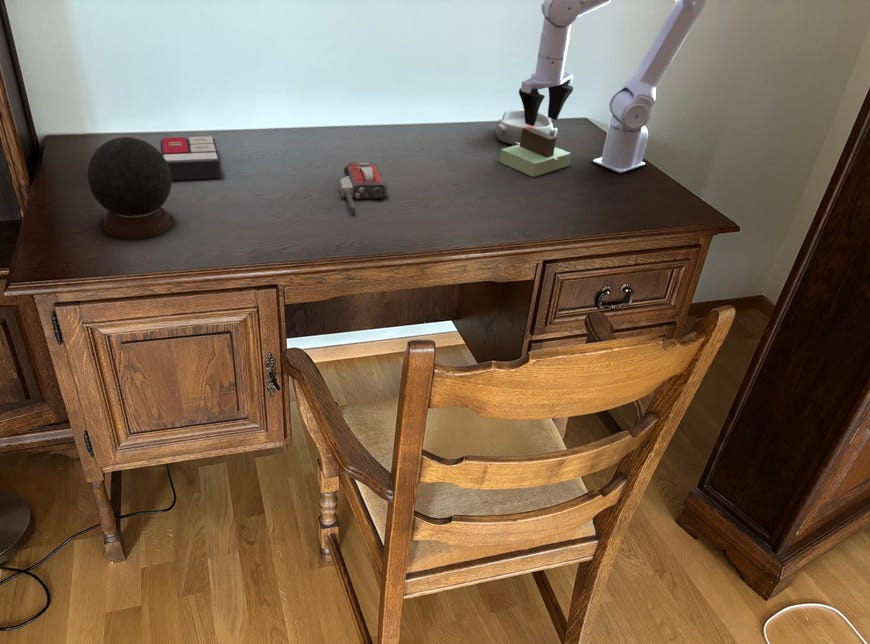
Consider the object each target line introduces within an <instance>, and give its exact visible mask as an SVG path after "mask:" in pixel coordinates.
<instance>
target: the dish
mask: <svg viewBox="0 0 870 644" xmlns="http://www.w3.org/2000/svg"><path fill="white" fill-rule="evenodd" d="M528 126H530V125H528V124H525V115H524V109H509V110H505V111H504V113H503V116H502V118H500V119H498V121H497V124H496V127H495V131H496V132H495V133H496V137H497V138H498V140H500V141H501V142H503V143H505V144H508V145H509V144H510V145H512V146H515V145H519V144H517V143H515V142H518V143H520V141H521V134H522V129H523V128H524V127H528ZM530 127H533V129H535V130H538V131H541V132H543V133H546V134H548V135H551V136H553V137H556V136H557V135H558V128H557V127H554V126H553V123H552V119H551V118H548V115H546V114H544V113H542V112H539V111H538V114H537V119H536V122H535V125H534V126H530Z"/></svg>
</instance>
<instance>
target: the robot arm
mask: <svg viewBox="0 0 870 644" xmlns="http://www.w3.org/2000/svg"><path fill="white" fill-rule="evenodd" d="M611 1H612V0H544V1H543V3H541V12H542V15H543V17H544V19H543V23H542V29H541V33H540V40H539V46H538V54H537V58H536V59H537V60H536V66H535V72H533V73H531V75H530V76H531V77H530V78H528V79H525V80H523V81H521V87H520V88H519V89H518V95H519V96H520V99H521V102H522V107H523V110H524V115H525V124H528V125H530V126H534V125H535V122H536V119H537V114H538V112H539V110H540V107H541V104H542V103H543V100H544V99H545V96H546V95H544V94H541V93H540V92H539V90H544V89H548V106H547V107H548V108H547V117H548V118H550V119H551V120H554V121H556V120H557V121H558V118H559V116H560V114H561V111H562V109H563V107H564V104H565V103H566V102H567V99H569V97H570V95H571V94H572V93H573V92H574V86H572V85H571V84H573V79H574V74H573V73H570V72H567V71H566V72H564V69H565V63H566V59H567V53H568V46H569V42H570V36H571V27H572V24H573V23H574V22H575V21H576V19H577V17H581V16H583V15H585V14H587V13H590V12H593V11H594V10H597V9H599V8H601V7H604V6H605V5H608V4H610V2H611ZM706 1H707V0H674V2H675V3H674V5H673V7H672V8H671V10H670V12H669V14H668V16H667V17H666V18H665V21H664V23H663V24H662V26H661V28H660V29H659V31H658V33H657V35H656V37H655V39H654V40H653V41H652V43H651V45H650V47H649V49H648V51H647V53H646V54H645V56H644V57H643V59H642V61H641V63H640V64H639V66H638V68H637V69H636V71H635V73H634V75H633V76H632V77H630V78H629V79H626V81H625V82H624V83H623V85H622V87H620V89H619V90H617V91H616V92H615V93H614V94H613V95H612V96H611V98H610V101H609V106H608V107H609V111H610V113H611V118H610V120H609V122H608V123H609V124H608V128H607V132H606V137H605V141H604V145H603V150H602V155H601V157H597V158H594V159H593V160H592V162H593V163H594V164H596V165H599V166H600V167H601V166H602V167H604V168H606V169H609V170H611V171H614V172H616V173H619V174H623V173H626V172H629V171H632V170H635V169H638V168H641V167H644V166H645V165H646V163H645V162H643V159H644V156H645V150H646V147H647V143H648V139H649V132H648V128H647V127H646V125H647V124H648V123H649V121H650V118H651V114H652V113H651V112H652V109H653V106H654V104H656V93H657V92H656V91H657V87H658V86H659V84H660V83H661V81H662V79H663V78H664V75H665V73H666V72H667V70H668V69H669V68H670V65H671V64H672V62H673V60H674V58H675V57H676V55H677V53H678V52H679V50H680V49H681V47H682V45H683V43H684V42H685V40H686V38H687V37H688V36H689V33H690V32H691V30H692V29H693V27H694V25H695V23H696V22H697V20H698V18H699V17H700V15H701V14H702V12H703V10H704V8H705V5H706Z"/></svg>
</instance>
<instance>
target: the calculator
mask: <svg viewBox="0 0 870 644" xmlns="http://www.w3.org/2000/svg"><path fill="white" fill-rule="evenodd" d="M159 143H160V153H161V154H162V156H163V157H164V158H165V160H166V161H167V164H168V166H169V168H170V173H171V181H187V180H206V179H221V178H223V177H222V168H221V167H222V165H221V159H220V155H219V151H218V148H217V147H218V146H217V143H216V140H215V138H213V136H210V135H209V136H207V135H206V136H189V137H188V138H187V137H185V136H179V137H162V139H161V140H160V141H159Z"/></svg>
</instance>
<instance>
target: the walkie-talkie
mask: <svg viewBox="0 0 870 644" xmlns="http://www.w3.org/2000/svg"><path fill="white" fill-rule="evenodd" d="M343 173H344V177H343V178H341V179H340V182H339V183H340V184H339V188H340V192H341V193H340V195H341V197H342V198H346V201H347V204H348V207H349V209H350V211H352V212H355V211H356V210H357V209H356V205H355V203H354V200H353V198H354V199H356V200H365V199H366V200H368V199H369V200H372V199H373V200H374V199H384V198H386V196H387V184H386V181H385V179H384V177H383V175H382V172H381V170H380V168H379V166H378V164H376V163H374V162H373V161H358V162H357V161H354V162H350V163H348V164H346V166H344V168H343Z"/></svg>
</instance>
